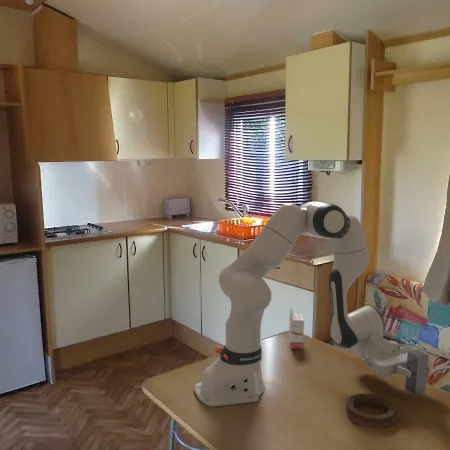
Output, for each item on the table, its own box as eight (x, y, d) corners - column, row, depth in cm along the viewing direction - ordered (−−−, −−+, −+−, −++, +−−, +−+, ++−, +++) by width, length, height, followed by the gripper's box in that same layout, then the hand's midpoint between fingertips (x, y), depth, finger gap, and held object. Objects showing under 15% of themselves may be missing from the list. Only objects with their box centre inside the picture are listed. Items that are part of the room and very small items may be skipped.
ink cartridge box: (303, 349, 181) (304, 313, 179) (290, 349, 182) (291, 312, 179) (301, 340, 190) (302, 305, 188) (288, 340, 190) (289, 305, 188)
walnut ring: (367, 433, 128) (368, 422, 128) (337, 408, 140) (337, 399, 140) (404, 421, 134) (405, 412, 133) (372, 399, 145) (373, 390, 145)
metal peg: (415, 394, 140) (418, 356, 138) (405, 388, 144) (407, 351, 142) (425, 392, 142) (428, 354, 140) (414, 386, 146) (417, 349, 144)
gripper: (360, 350, 149) (392, 369, 137) (410, 340, 157) (444, 357, 145) (359, 369, 150) (391, 389, 138) (408, 358, 158) (442, 376, 146)
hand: (418, 372), depth 141 cm, fingers closed on metal peg, 4 cm apart
